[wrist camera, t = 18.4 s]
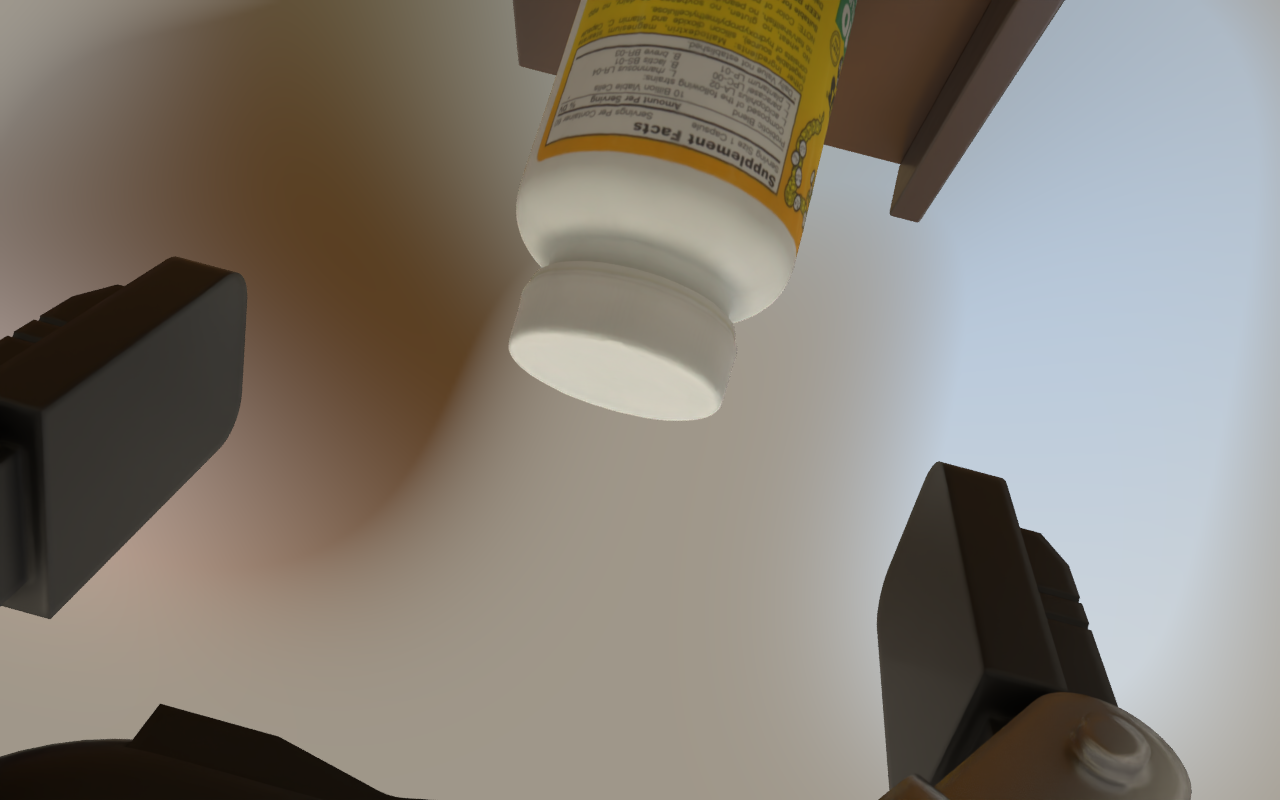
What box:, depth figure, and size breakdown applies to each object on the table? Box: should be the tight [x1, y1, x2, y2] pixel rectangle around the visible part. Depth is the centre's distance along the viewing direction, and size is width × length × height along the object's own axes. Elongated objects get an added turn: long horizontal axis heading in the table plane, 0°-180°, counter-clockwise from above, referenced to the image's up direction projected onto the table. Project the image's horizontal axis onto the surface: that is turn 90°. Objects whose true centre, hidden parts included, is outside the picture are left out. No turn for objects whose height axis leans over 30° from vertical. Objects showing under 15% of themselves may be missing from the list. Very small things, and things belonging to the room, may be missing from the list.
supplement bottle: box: [509, 0, 857, 421], centre depth 21 cm, size 5×5×10 cm
